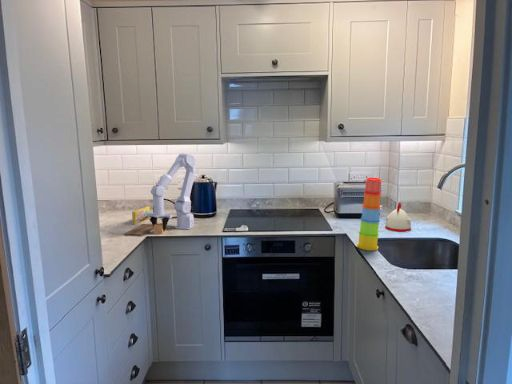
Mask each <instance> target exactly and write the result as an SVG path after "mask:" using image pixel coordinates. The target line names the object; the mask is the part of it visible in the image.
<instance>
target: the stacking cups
mask: <svg viewBox="0 0 512 384" xmlns="http://www.w3.org/2000/svg"><path fill="white" fill-rule="evenodd" d="M381 191H382V180H381V178H379V177H367V178H366V179H365V188H364V192H363V195H364V196H363V204H362V205H361V206H362V213H361V217H360V229H359V231H358V232H357V233H358V242H357V244H356V247H357V248H358V249H360V250H363V251H369V252H370V251H373V252H374V251H377V250H378V249H379V246H378V237H379V236H380V233H379V225H380V222H381V220H380V213H381V211H380V210H381V209H382V207H381V195H382V192H381Z"/></svg>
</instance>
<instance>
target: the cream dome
mask: <svg viewBox="0 0 512 384" xmlns="http://www.w3.org/2000/svg"><path fill="white" fill-rule="evenodd" d="M386 216H387V217H386V220H385V226H384V228H385V229H386V230H388V231H389V232H396V233H407V232H406V231H408V232H411V229H412V222H411V221H412V220H411V216H410V217H409V215H408V213H407V212H406V211H405V210H404V209H402V202H398V204H397V208H395V209H394V210H392V211H391V212H390V213H389V214H387V215H386Z"/></svg>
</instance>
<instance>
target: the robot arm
mask: <svg viewBox="0 0 512 384" xmlns="http://www.w3.org/2000/svg"><path fill="white" fill-rule="evenodd" d="M196 161H197V158H196V157H195V156H194V155H193V154H191V153H184V152H181V153H179V154H178V156H176V158H175V160H174V162H173V163H172V165H171V167H170V169H169V170H168V171H167V173H166V174H162V175H161V176H160V179H159V180H158V181H157V182H156V183H155V185H153V186H152V187H151V190H150V193H151V195H152V201H153V202H152V203H153V205H152V206H153V212H152V213H151V212H150V213H148V214H147V217H150V219H149V222H150V224H152V225H153V227H154V224H156V223H158V219H161V223H163V231H165V230H166V231H167V225H168V223H169V220H170V219H172V218H173V215H172V214H170V213H165V203H164V195H165V194H166V189H167V188H168V187H169V185H170V184H171V183H172V180H173V176H175V174H176V173H177V172H178V171H179V170H180V168H182V167H184V168H185V170H186V171H185V175H184V179H183V184H182V186H181V187H182V188H181V191H180V196H178V197H177V199H176V201H175V203H174V205H173V207H174V208H173V209H174V210H175V211H176V226H175V227H174V229H175V230H176V229H177V230H191V229H192V228H193V227H195V224H194V223H195V220H194V219H195V218H194V213H191V212H190V211H191V209H192V206H191V204H192V201H191V199H190V196H191V193H192V190H193V189H192V188H193V184H194V182H195V181H194V180H195V176H196V171H197V164H196Z"/></svg>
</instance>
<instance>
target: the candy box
mask: <svg viewBox="0 0 512 384" xmlns="http://www.w3.org/2000/svg"><path fill="white" fill-rule="evenodd" d="M150 208H151V207H150V206H144V207H143V208H139V209H136V210H133V211H132V213H131V214H132V215H131V218H132V219H131V220H132V225H133V226H136V225H137V224H141V223H142V222H145V221H147V220H150V217H147V214H148V213H151V211H150V210H151V209H150Z"/></svg>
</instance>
